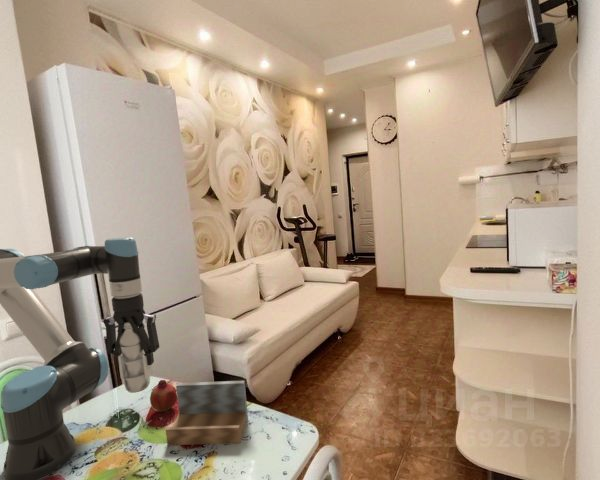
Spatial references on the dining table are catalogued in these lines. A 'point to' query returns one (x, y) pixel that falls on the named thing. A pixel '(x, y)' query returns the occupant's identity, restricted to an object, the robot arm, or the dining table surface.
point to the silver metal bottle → (133, 360)
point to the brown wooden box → (209, 413)
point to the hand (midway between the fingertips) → (136, 376)
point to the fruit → (163, 396)
